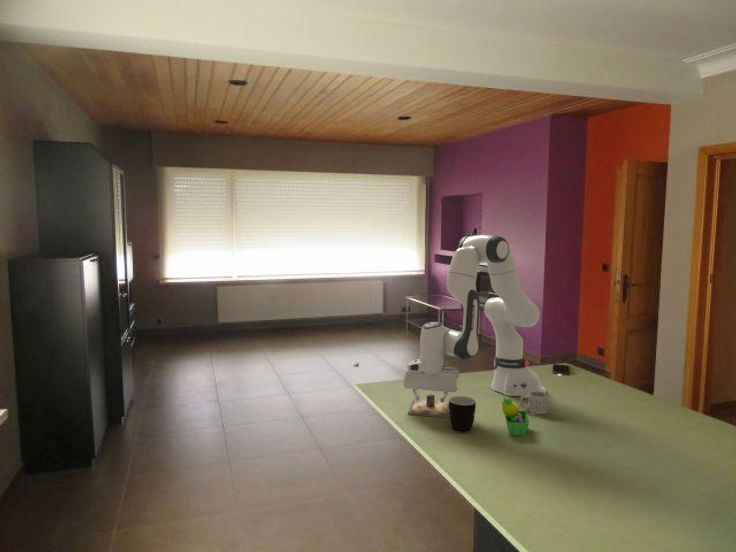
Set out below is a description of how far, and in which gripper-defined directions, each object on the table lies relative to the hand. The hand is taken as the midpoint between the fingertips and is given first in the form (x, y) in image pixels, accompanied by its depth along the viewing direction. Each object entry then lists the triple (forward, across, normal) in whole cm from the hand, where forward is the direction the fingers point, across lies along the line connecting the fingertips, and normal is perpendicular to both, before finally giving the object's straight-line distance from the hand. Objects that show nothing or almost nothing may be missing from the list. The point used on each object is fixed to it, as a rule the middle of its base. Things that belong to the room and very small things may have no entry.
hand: (429, 401), depth 198 cm
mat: (+3, 0, 0) cm, 3 cm away
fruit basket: (+3, -30, +13) cm, 33 cm away
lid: (+3, 0, 0) cm, 3 cm away
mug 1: (+4, -12, +15) cm, 19 cm away
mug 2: (+3, -38, -8) cm, 39 cm away
